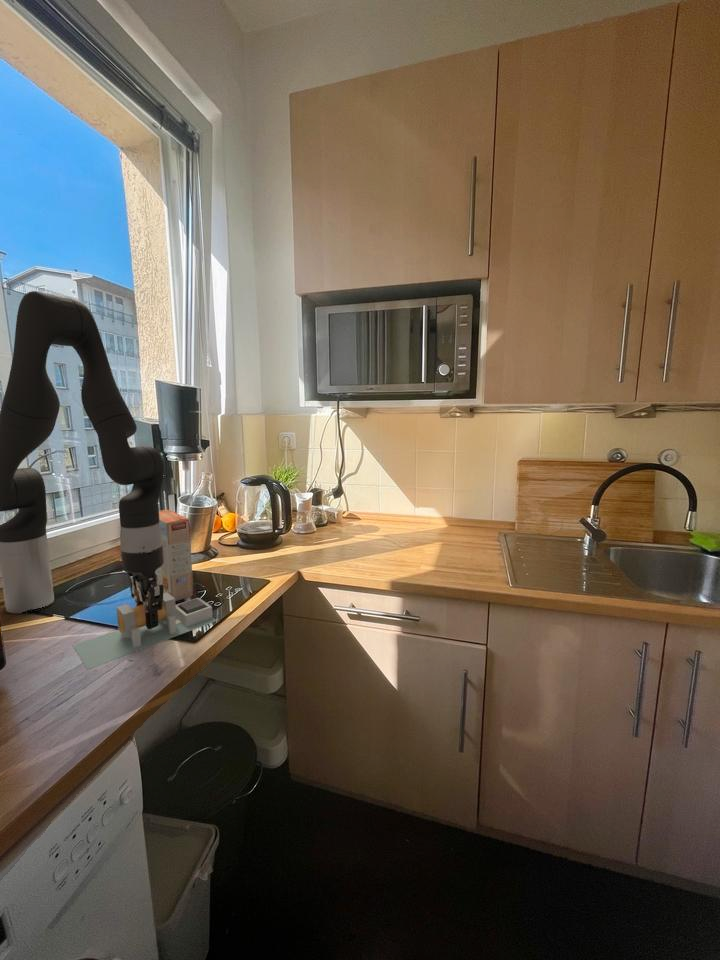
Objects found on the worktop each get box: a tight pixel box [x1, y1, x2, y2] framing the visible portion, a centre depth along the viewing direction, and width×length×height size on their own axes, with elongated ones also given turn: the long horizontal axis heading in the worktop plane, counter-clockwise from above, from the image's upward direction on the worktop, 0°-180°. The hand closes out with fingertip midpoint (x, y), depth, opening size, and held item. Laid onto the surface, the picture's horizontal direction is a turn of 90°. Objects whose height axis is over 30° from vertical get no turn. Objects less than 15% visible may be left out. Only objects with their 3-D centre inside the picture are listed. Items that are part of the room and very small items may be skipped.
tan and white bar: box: [115, 592, 177, 638], centre depth 87 cm, size 4×10×5 cm, turn 136°
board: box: [72, 597, 218, 670], centre depth 87 cm, size 11×25×4 cm, turn 136°
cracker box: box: [155, 509, 194, 602], centre depth 106 cm, size 14×6×21 cm, turn 44°
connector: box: [179, 598, 205, 614], centre depth 94 cm, size 4×4×3 cm
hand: (148, 622), depth 87 cm, fingers closed on tan and white bar, 4 cm apart
